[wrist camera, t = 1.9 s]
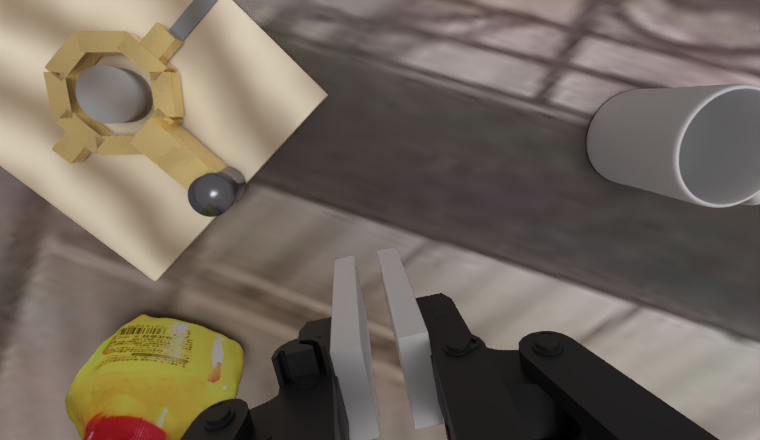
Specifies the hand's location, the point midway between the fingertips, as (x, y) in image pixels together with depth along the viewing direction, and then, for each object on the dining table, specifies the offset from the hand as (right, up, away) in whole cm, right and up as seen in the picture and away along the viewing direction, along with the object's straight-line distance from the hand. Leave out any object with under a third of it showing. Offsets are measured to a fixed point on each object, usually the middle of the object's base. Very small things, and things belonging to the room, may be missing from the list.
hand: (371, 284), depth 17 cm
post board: (-20, +13, +18) cm, 30 cm away
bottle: (-18, -9, +24) cm, 32 cm away
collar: (-17, +10, +17) cm, 26 cm away
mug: (+25, +9, +23) cm, 35 cm away
